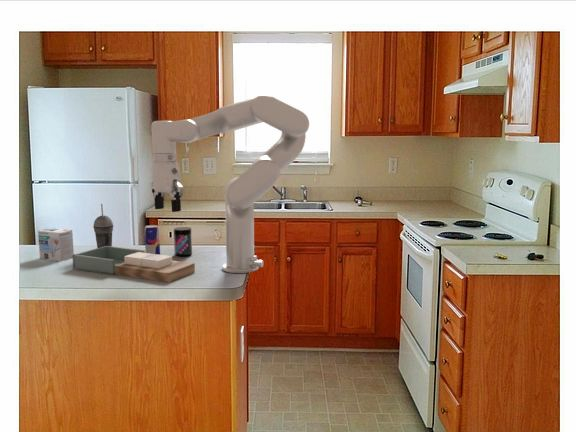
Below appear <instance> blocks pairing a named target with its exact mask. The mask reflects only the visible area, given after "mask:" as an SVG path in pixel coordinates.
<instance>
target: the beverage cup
mask: <svg viewBox="0 0 576 432" xmlns="http://www.w3.org/2000/svg"><path fill="white" fill-rule="evenodd" d="M100 207H101V208H100V210H101V215H100V216H98V217H96V218H95V220H94V222H93V226H92V228H93V231H94V234H95V240H96V248H100V247H104V246H113V231H114V224H113V223H114V222H113V220H112V219H111V218H110V217H109V216H107V215H104V210H103V203H101V204H100Z"/></svg>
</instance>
